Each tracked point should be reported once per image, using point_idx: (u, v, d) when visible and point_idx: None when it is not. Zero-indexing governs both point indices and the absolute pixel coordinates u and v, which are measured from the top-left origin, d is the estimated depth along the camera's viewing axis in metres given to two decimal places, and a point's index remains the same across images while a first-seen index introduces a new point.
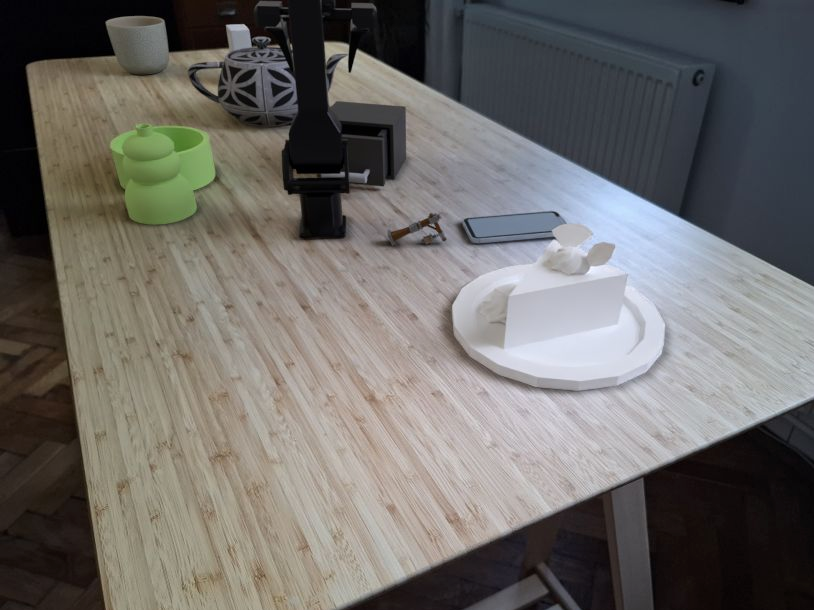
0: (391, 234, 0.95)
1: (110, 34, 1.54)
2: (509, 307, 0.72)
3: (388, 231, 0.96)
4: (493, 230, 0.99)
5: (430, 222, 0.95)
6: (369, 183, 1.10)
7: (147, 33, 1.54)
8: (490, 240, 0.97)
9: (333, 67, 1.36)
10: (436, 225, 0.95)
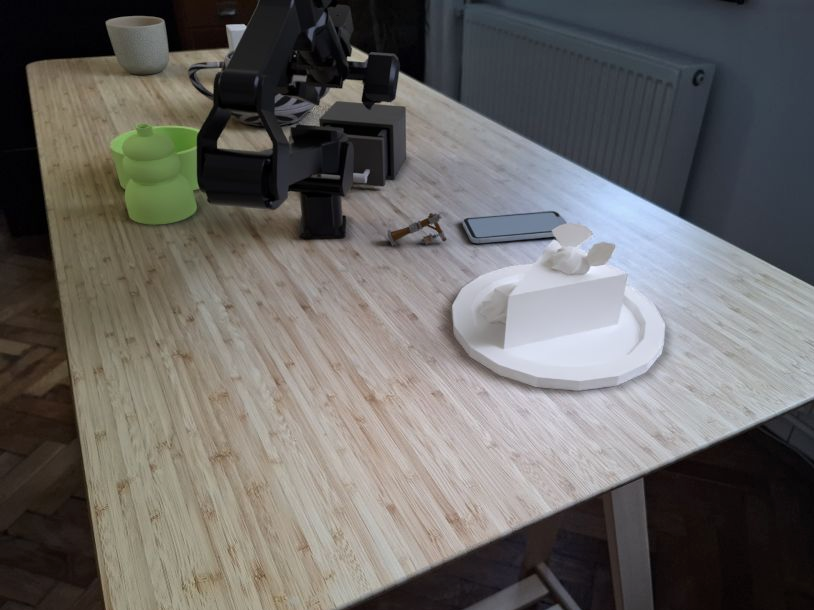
0: (391, 234, 0.95)
1: (110, 34, 1.54)
2: (509, 307, 0.72)
3: (388, 231, 0.96)
4: (493, 230, 0.99)
5: (430, 222, 0.95)
6: (369, 183, 1.10)
7: (147, 33, 1.54)
8: (490, 240, 0.97)
9: None
10: (436, 225, 0.95)
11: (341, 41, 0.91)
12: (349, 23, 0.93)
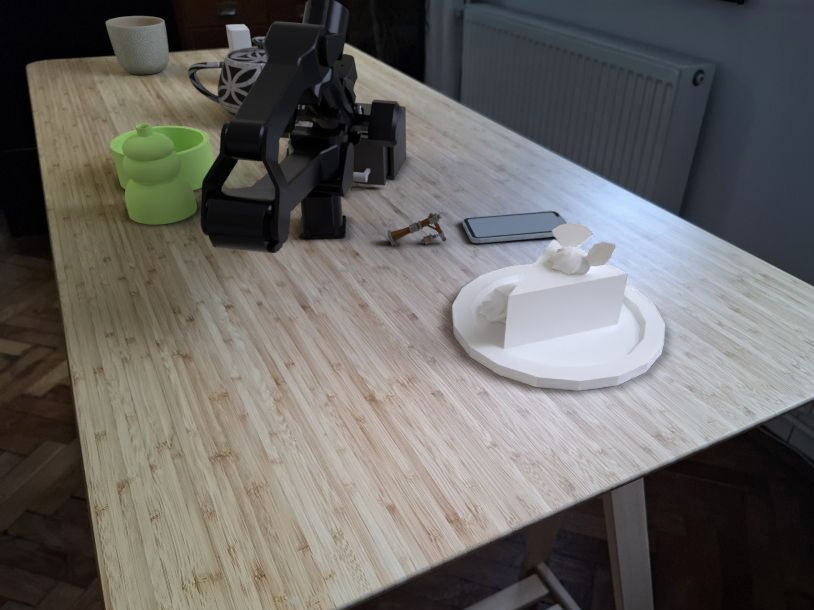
0: (391, 234, 0.95)
1: (110, 34, 1.54)
2: (509, 307, 0.72)
3: (388, 231, 0.96)
4: (493, 230, 0.99)
5: (430, 222, 0.95)
6: (370, 182, 1.11)
7: (147, 33, 1.54)
8: (490, 240, 0.97)
9: None
10: (436, 225, 0.95)
11: (346, 90, 0.95)
12: (353, 72, 0.97)
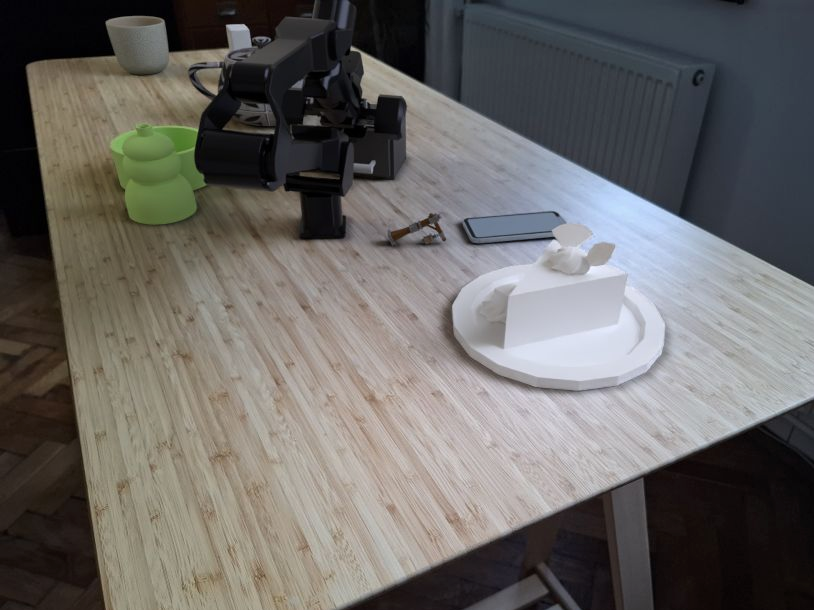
0: (391, 234, 0.95)
1: (110, 34, 1.54)
2: (509, 307, 0.72)
3: (388, 231, 0.96)
4: (493, 230, 0.99)
5: (430, 222, 0.95)
6: (375, 174, 1.14)
7: (147, 33, 1.54)
8: (490, 240, 0.97)
9: None
10: (436, 225, 0.95)
11: (353, 85, 0.99)
12: (360, 68, 1.01)
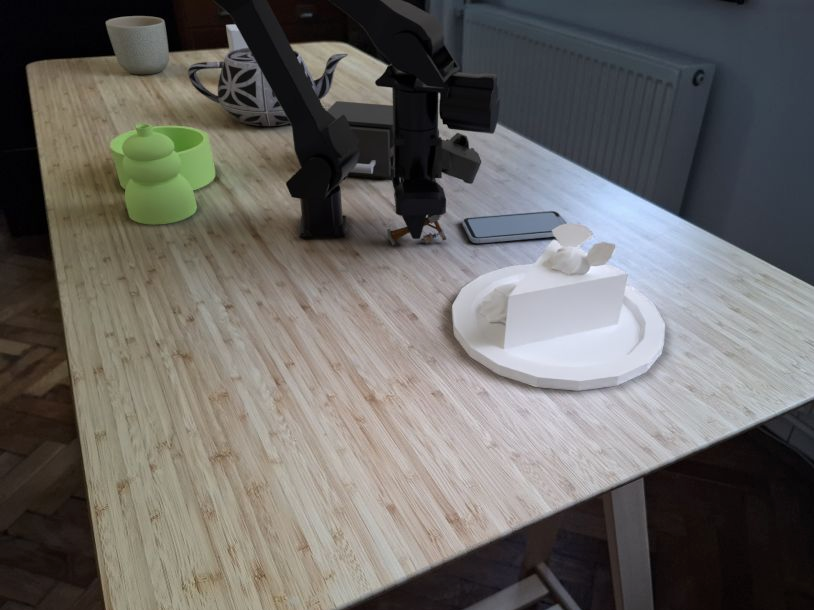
0: (391, 233, 0.95)
1: (110, 34, 1.54)
2: (509, 307, 0.72)
3: (388, 230, 0.96)
4: (493, 230, 0.99)
5: (430, 221, 0.95)
6: (375, 174, 1.14)
7: (147, 33, 1.54)
8: (490, 240, 0.97)
9: (333, 67, 1.36)
10: (436, 224, 0.95)
11: (434, 154, 0.87)
12: (463, 166, 0.89)
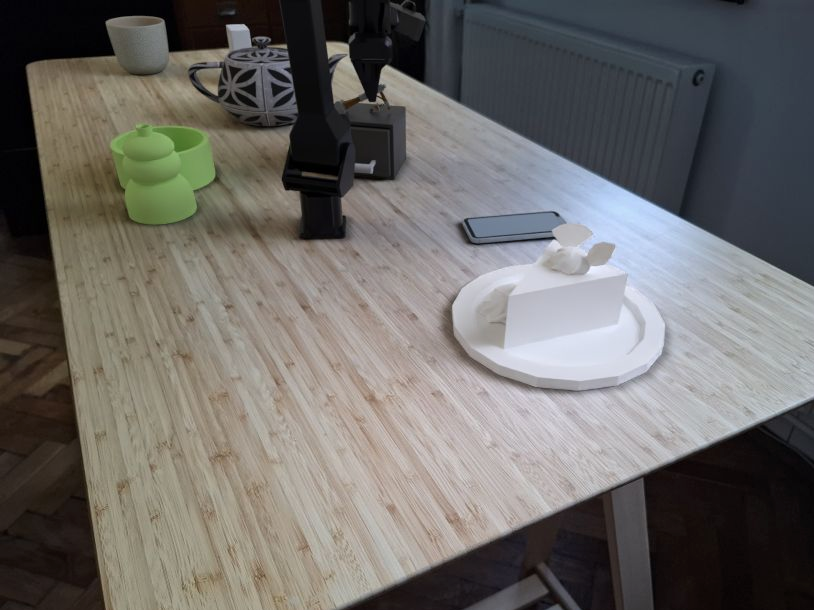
0: (344, 102, 1.13)
1: (110, 34, 1.54)
2: (509, 307, 0.72)
3: (341, 100, 1.13)
4: (493, 230, 0.99)
5: None
6: (375, 174, 1.14)
7: (147, 33, 1.54)
8: (490, 240, 0.97)
9: (333, 67, 1.36)
10: (381, 94, 1.13)
11: (384, 11, 1.02)
12: (409, 23, 1.03)
